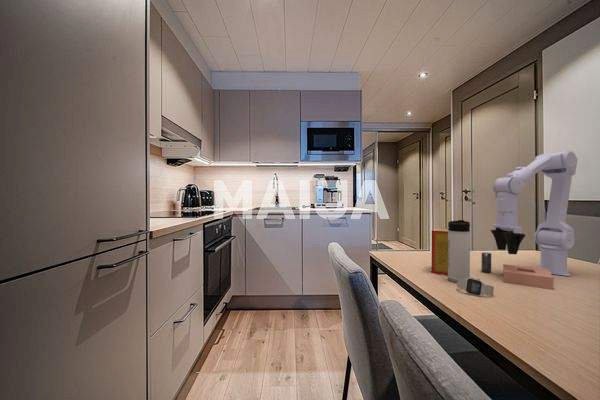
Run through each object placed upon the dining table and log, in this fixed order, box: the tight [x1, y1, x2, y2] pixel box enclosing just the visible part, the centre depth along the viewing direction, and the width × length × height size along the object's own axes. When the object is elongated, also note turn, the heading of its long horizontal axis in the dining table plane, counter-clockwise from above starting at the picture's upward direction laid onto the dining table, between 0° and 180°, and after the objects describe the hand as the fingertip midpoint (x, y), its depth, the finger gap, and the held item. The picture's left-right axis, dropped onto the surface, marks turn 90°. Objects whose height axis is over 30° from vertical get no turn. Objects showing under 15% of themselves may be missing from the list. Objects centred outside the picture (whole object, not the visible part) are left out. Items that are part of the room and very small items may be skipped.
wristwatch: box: [456, 276, 495, 297], centre depth 80 cm, size 9×6×5 cm
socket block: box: [502, 263, 554, 290], centre depth 91 cm, size 12×12×4 cm
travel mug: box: [447, 219, 471, 284], centre depth 91 cm, size 6×7×20 cm
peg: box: [480, 252, 492, 274], centre depth 101 cm, size 3×3×7 cm
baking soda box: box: [431, 227, 448, 276], centre depth 102 cm, size 10×6×16 cm
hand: (506, 251), depth 94 cm, fingers open, 7 cm apart
